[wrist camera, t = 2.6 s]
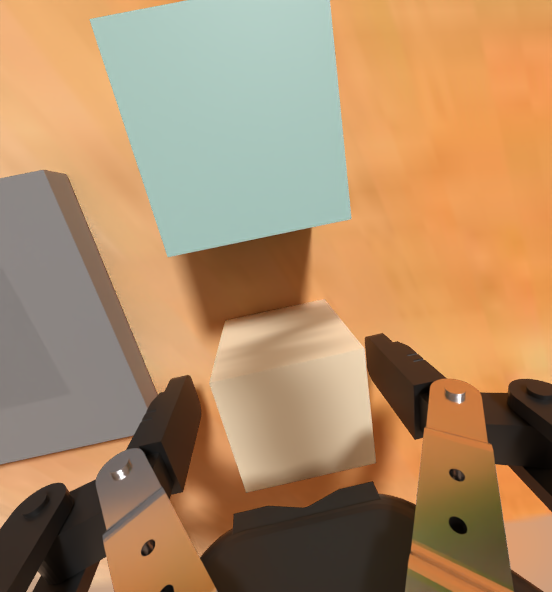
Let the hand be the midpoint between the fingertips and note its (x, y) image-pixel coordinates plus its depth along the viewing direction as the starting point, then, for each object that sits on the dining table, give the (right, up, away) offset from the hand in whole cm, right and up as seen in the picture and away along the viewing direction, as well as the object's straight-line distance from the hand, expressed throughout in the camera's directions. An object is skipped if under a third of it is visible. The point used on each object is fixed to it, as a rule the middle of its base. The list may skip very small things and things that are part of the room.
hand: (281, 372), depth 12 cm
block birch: (0, +1, +2) cm, 2 cm away
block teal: (-2, +9, -1) cm, 9 cm away
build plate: (-13, +1, 0) cm, 13 cm away
